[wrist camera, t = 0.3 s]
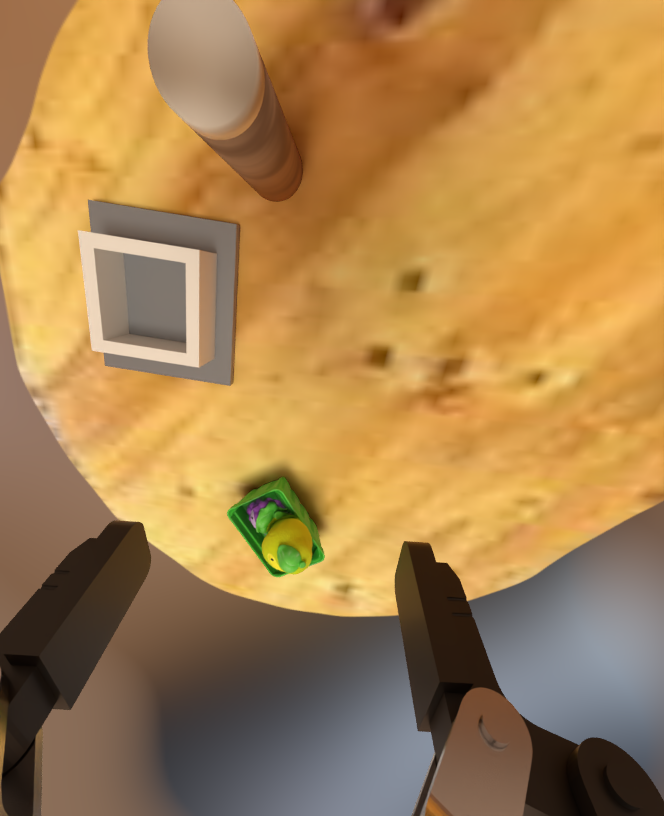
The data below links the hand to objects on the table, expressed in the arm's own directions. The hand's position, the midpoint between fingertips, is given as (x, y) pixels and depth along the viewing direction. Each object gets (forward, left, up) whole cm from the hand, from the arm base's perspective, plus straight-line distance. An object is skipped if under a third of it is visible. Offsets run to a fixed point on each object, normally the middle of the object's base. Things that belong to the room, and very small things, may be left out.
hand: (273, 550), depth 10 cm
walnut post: (-16, -7, -28) cm, 33 cm away
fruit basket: (+21, -2, -28) cm, 35 cm away
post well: (-3, -17, -28) cm, 33 cm away
